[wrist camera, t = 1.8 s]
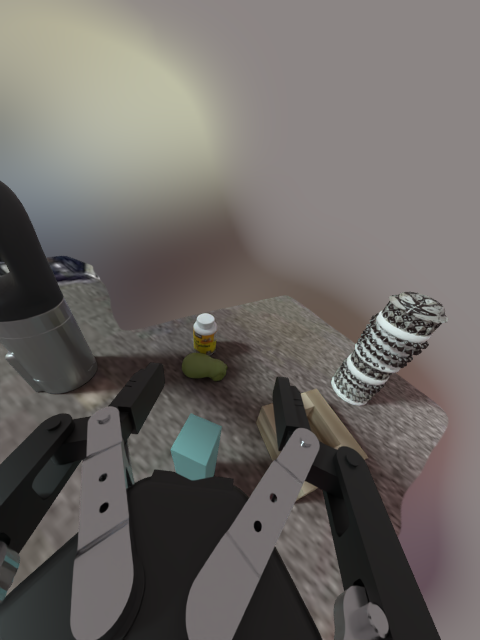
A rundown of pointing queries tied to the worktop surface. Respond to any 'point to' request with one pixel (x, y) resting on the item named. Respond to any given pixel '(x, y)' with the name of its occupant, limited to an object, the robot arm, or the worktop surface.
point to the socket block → (320, 423)
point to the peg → (196, 448)
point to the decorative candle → (387, 345)
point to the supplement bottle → (205, 334)
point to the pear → (203, 367)
